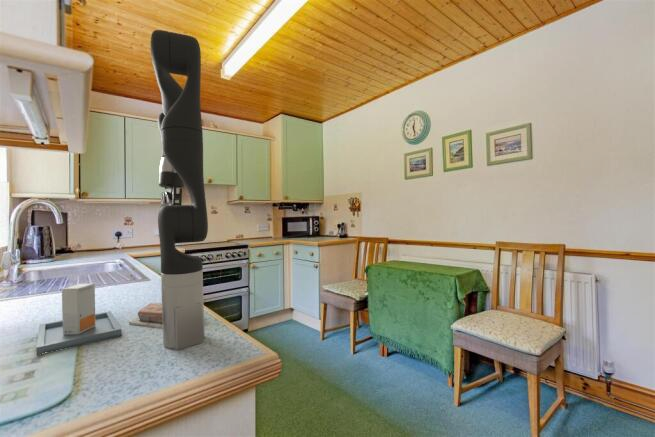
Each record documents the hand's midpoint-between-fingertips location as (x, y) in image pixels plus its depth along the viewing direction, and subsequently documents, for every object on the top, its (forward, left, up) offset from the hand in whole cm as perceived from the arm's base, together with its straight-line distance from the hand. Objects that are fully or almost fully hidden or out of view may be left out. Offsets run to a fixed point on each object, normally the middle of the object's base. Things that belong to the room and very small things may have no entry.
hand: (169, 222), depth 101 cm
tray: (-4, +24, -29) cm, 37 cm away
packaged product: (-11, +4, -29) cm, 31 cm away
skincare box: (-4, +24, -28) cm, 37 cm away
